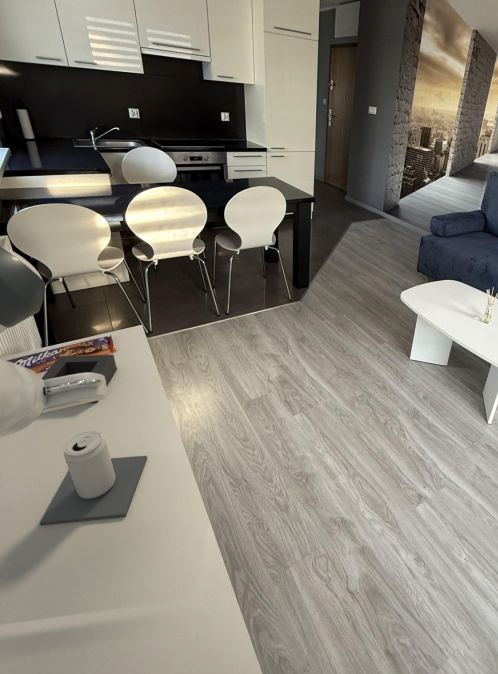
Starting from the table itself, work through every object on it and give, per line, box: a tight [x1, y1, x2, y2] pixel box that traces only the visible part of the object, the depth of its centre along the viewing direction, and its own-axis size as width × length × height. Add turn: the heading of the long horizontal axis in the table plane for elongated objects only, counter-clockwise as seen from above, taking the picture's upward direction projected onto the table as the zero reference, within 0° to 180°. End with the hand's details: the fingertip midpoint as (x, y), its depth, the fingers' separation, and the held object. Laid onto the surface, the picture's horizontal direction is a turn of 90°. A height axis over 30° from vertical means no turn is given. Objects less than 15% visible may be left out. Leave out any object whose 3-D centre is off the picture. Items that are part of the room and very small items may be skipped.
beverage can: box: [63, 430, 116, 499], centre depth 74 cm, size 6×6×12 cm
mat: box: [39, 455, 148, 526], centre depth 77 cm, size 14×13×1 cm
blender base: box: [41, 354, 118, 404], centre depth 100 cm, size 13×14×5 cm
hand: (37, 406), depth 61 cm, fingers open, 8 cm apart
